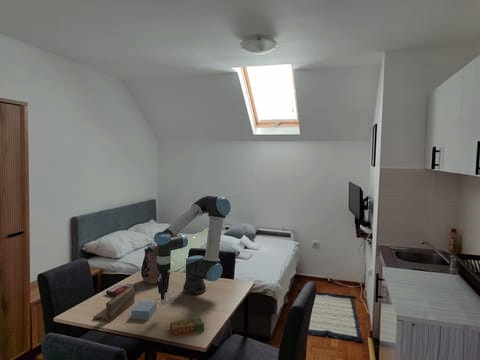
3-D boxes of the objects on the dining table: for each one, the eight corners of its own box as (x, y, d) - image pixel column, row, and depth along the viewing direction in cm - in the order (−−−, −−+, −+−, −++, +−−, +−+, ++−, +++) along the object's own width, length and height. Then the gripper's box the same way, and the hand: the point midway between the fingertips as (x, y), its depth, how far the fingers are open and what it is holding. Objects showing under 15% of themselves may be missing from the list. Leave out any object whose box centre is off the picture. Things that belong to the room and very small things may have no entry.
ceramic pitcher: (136, 281, 237) (136, 247, 236) (162, 274, 251) (162, 242, 250) (148, 288, 224) (148, 252, 223) (175, 280, 238) (175, 247, 237)
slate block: (156, 310, 192) (156, 302, 192) (149, 320, 180) (149, 311, 180) (139, 309, 193) (139, 301, 192) (131, 319, 181) (131, 310, 180)
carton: (169, 329, 170) (169, 321, 170) (199, 324, 176) (199, 316, 176) (173, 337, 163) (173, 329, 162) (204, 331, 169) (204, 323, 169)
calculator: (105, 289, 212) (123, 281, 226) (106, 296, 213) (124, 287, 226) (117, 293, 207) (135, 284, 220) (118, 299, 208) (135, 290, 221)
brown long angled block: (134, 303, 201) (134, 287, 200) (111, 321, 177) (111, 303, 177) (118, 301, 203) (118, 285, 202) (93, 319, 180) (93, 301, 179)
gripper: (162, 258, 189) (162, 299, 190) (152, 265, 176) (151, 308, 177) (174, 259, 188) (174, 300, 189) (165, 266, 175) (164, 310, 176)
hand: (163, 304), depth 183 cm, fingers closed
